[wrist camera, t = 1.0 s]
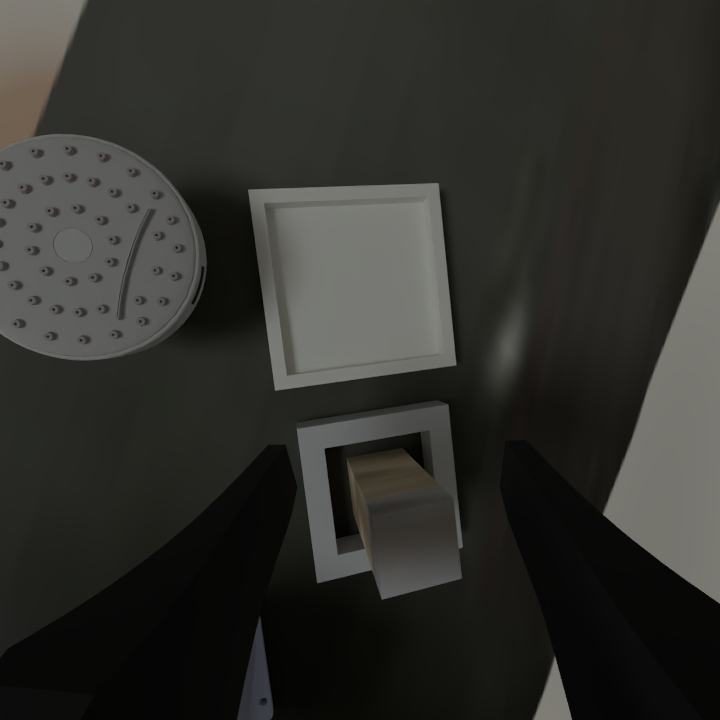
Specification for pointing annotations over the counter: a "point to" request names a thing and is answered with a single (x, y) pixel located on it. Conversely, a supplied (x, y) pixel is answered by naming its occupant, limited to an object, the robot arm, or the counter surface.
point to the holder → (328, 432)
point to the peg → (403, 522)
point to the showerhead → (93, 249)
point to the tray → (352, 281)
